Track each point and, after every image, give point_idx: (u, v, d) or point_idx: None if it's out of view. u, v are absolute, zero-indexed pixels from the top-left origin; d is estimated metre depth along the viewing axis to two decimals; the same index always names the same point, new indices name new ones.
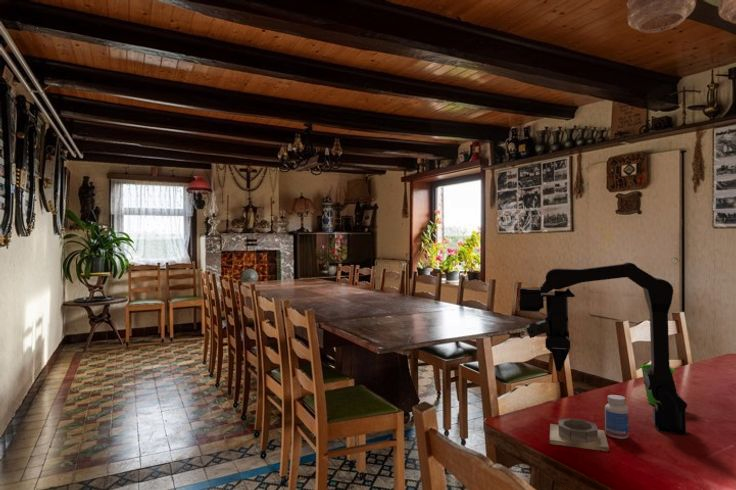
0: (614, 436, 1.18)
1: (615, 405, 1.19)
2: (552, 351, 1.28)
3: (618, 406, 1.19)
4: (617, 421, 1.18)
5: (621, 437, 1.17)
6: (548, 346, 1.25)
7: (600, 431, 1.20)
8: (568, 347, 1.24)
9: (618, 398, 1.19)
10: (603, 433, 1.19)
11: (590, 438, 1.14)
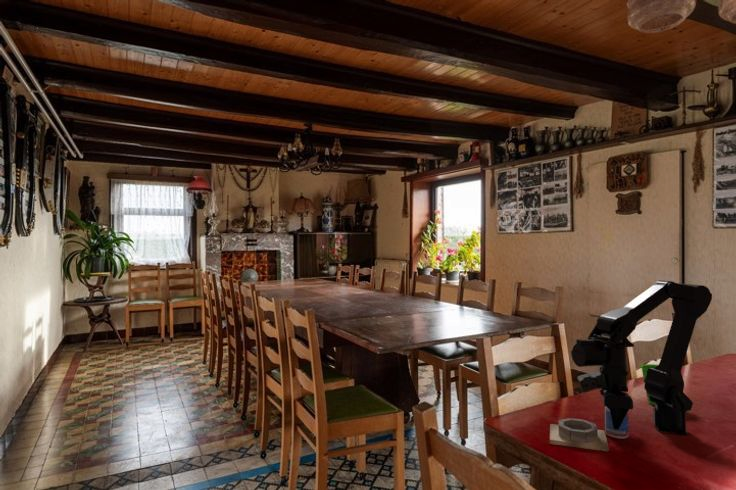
0: (614, 436, 1.18)
1: None
2: (610, 407, 1.16)
3: None
4: None
5: (621, 437, 1.17)
6: (607, 405, 1.13)
7: (600, 431, 1.20)
8: (631, 407, 1.11)
9: None
10: (603, 433, 1.19)
11: (590, 438, 1.14)
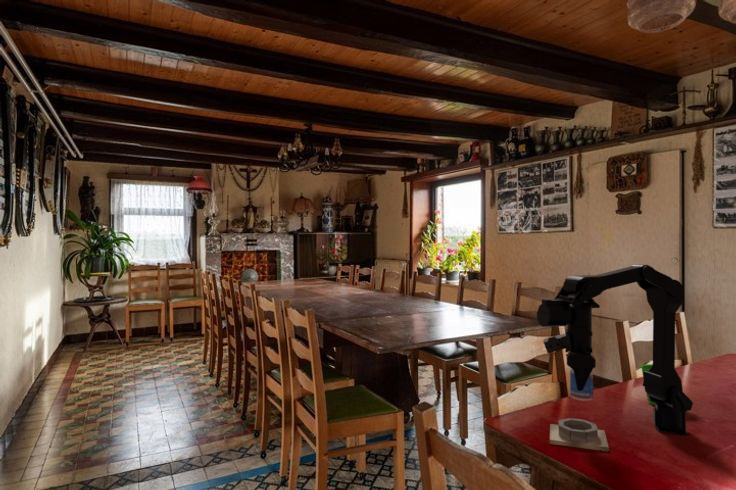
0: (578, 398, 1.16)
1: None
2: (574, 368, 1.14)
3: None
4: None
5: (585, 399, 1.15)
6: (570, 364, 1.11)
7: (600, 431, 1.20)
8: (593, 366, 1.09)
9: None
10: (603, 433, 1.19)
11: (590, 438, 1.14)
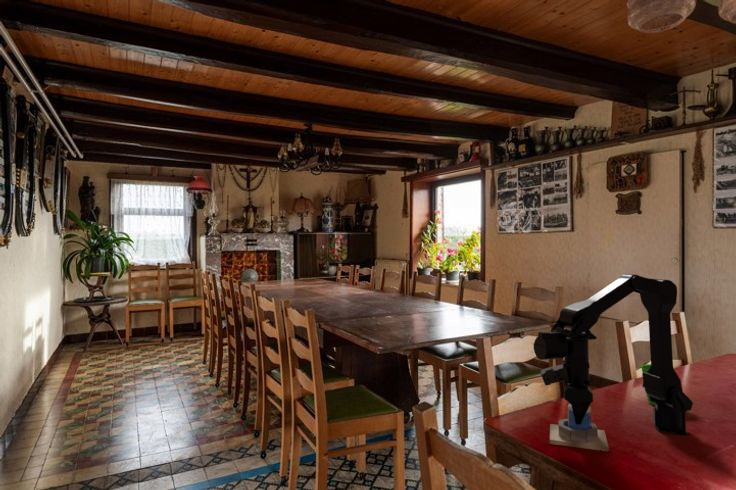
0: None
1: None
2: (571, 402, 1.13)
3: None
4: None
5: None
6: (567, 399, 1.10)
7: (600, 431, 1.20)
8: (590, 401, 1.09)
9: None
10: (603, 433, 1.19)
11: (590, 438, 1.14)
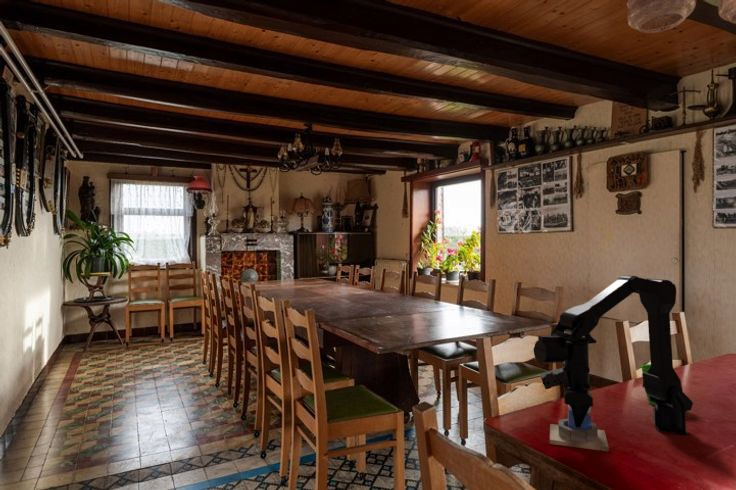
0: None
1: None
2: (571, 405, 1.14)
3: None
4: None
5: None
6: (567, 403, 1.10)
7: (600, 431, 1.20)
8: (590, 405, 1.09)
9: None
10: (603, 433, 1.19)
11: (590, 438, 1.14)
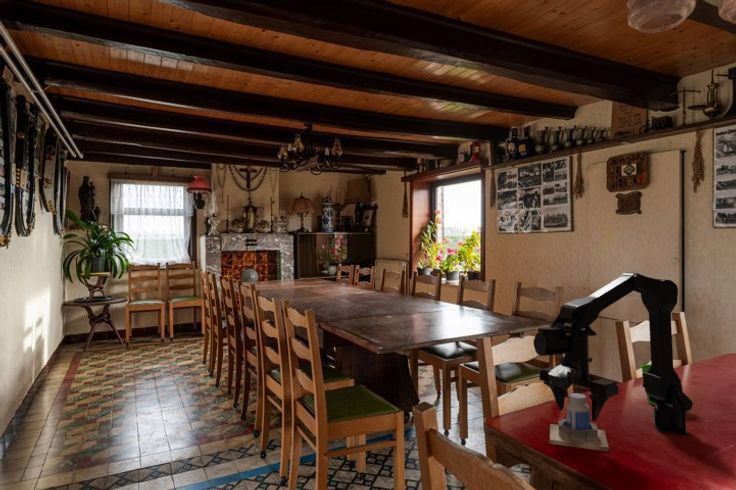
0: None
1: (583, 404, 1.17)
2: (598, 400, 1.12)
3: (584, 404, 1.17)
4: (587, 420, 1.16)
5: None
6: (606, 396, 1.09)
7: (600, 431, 1.20)
8: None
9: (582, 396, 1.18)
10: (603, 433, 1.19)
11: (590, 438, 1.14)
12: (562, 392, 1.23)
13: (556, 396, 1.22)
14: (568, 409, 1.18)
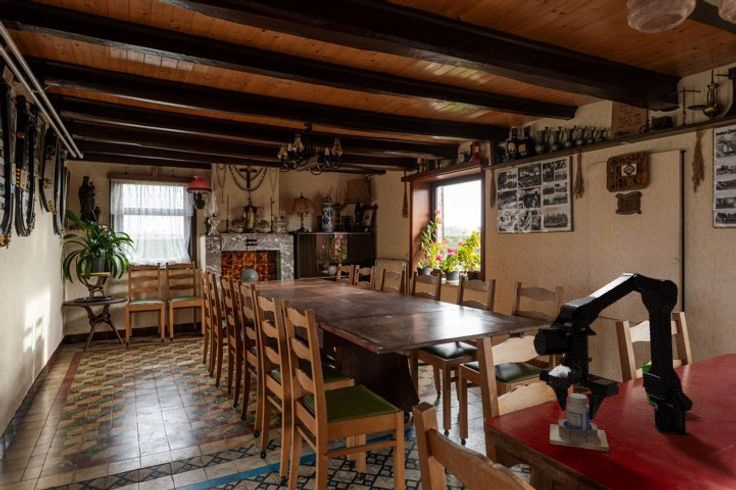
0: None
1: (585, 402, 1.18)
2: (595, 399, 1.12)
3: None
4: None
5: None
6: (607, 396, 1.09)
7: (600, 431, 1.20)
8: (618, 392, 1.12)
9: (582, 395, 1.18)
10: (603, 433, 1.19)
11: (590, 438, 1.14)
12: (564, 393, 1.22)
13: (558, 397, 1.21)
14: (578, 412, 1.16)
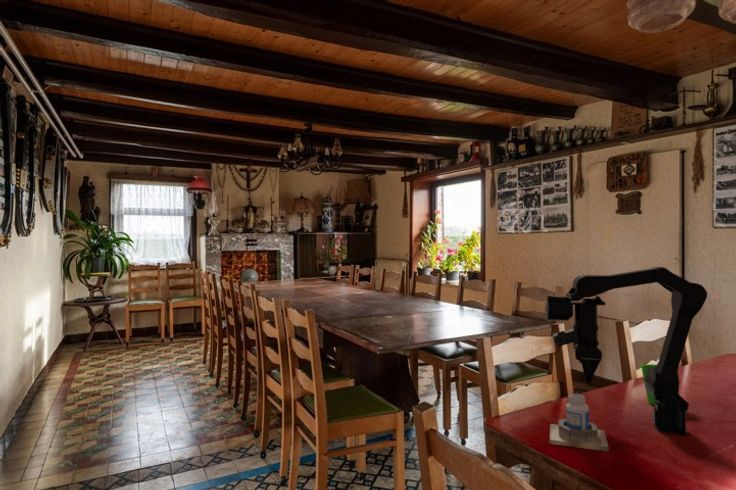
0: None
1: None
2: (582, 361, 1.23)
3: None
4: None
5: None
6: (578, 356, 1.20)
7: (600, 431, 1.20)
8: (600, 358, 1.19)
9: (580, 395, 1.19)
10: (603, 433, 1.19)
11: (590, 438, 1.14)
12: None
13: None
14: (577, 412, 1.16)
